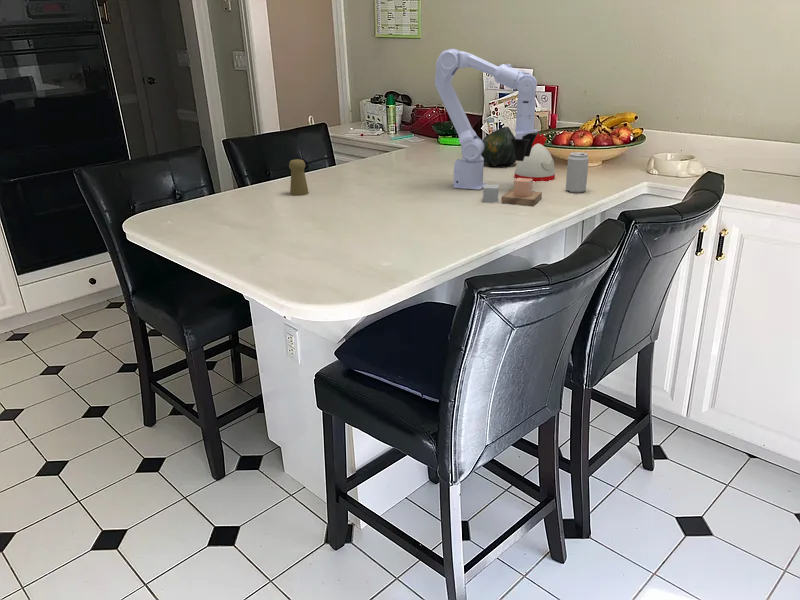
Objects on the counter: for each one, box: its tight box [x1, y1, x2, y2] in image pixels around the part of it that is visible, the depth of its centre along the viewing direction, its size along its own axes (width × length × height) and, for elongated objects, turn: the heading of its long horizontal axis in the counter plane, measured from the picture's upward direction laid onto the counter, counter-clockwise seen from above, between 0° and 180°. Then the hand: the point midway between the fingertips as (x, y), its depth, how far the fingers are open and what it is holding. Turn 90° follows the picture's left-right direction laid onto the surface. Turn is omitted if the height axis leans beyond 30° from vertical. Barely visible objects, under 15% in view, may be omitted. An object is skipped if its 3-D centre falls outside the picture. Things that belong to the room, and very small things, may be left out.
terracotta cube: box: [513, 178, 533, 197], centre depth 199 cm, size 4×4×4 cm
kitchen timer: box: [514, 133, 556, 183], centre depth 227 cm, size 14×14×15 cm
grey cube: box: [482, 184, 499, 203], centre depth 201 cm, size 4×4×4 cm
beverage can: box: [565, 151, 590, 194], centre depth 208 cm, size 6×6×12 cm
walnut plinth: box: [500, 188, 543, 207], centre depth 200 cm, size 10×10×2 cm
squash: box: [481, 126, 518, 167], centre depth 248 cm, size 14×15×15 cm
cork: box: [288, 158, 310, 197], centre depth 212 cm, size 6×6×11 cm
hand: (523, 158), depth 211 cm, fingers open, 7 cm apart
